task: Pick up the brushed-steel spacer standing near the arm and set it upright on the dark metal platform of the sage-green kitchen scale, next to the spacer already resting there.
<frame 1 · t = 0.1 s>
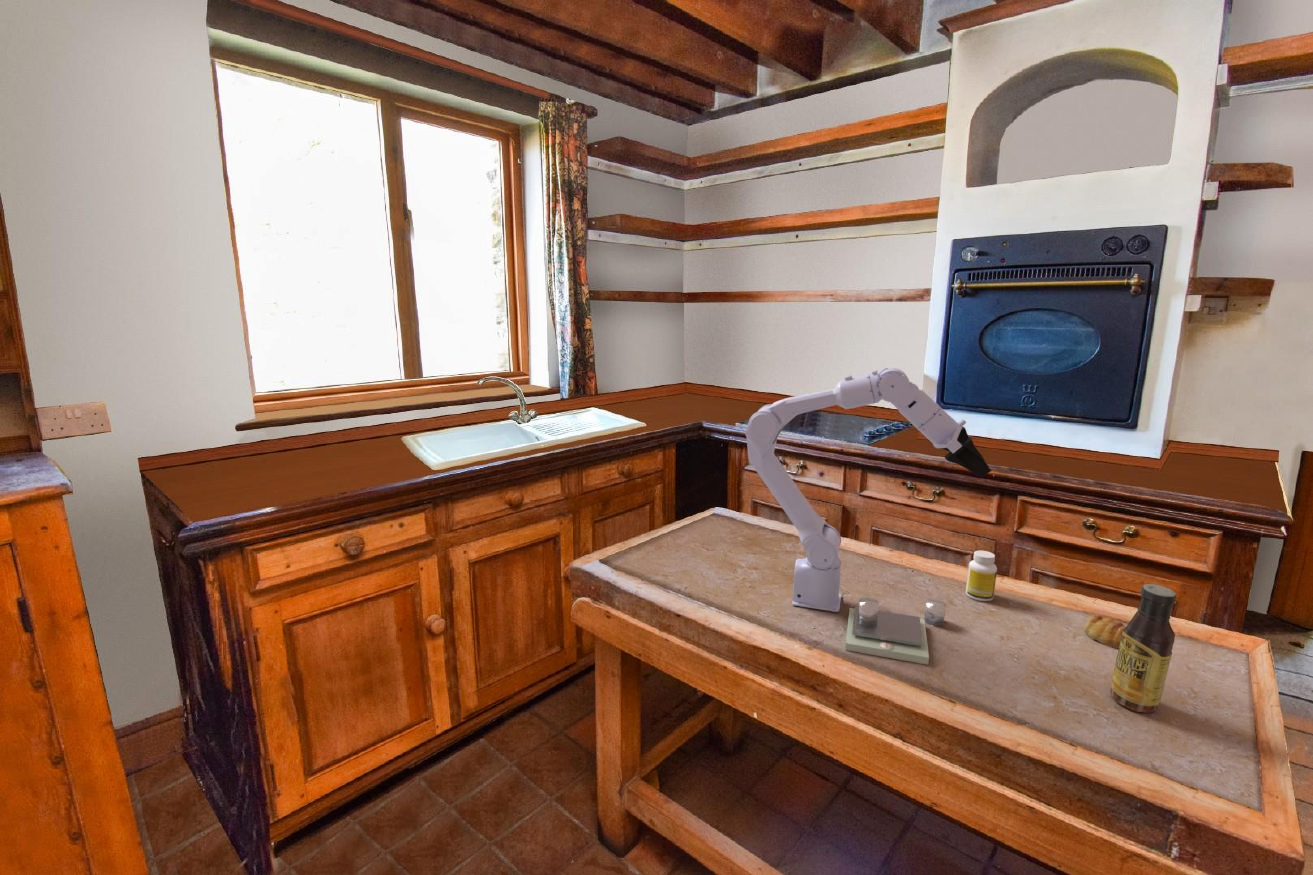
hand: (983, 468, 114), 32 cm above the table, tool tilted 50°, fingers open, 7 cm apart
scale: (885, 637, 116), on the table
spacer A: (933, 621, 122), on the table
spacer B: (867, 620, 118), point 3 cm above the table, touching scale platform
scale platform: (886, 627, 117), point 2 cm above the table, slide at -0.5 cm, touching spacer B
supplement bottle: (979, 597, 133), on the table
sauce bottle: (1134, 704, 97), on the table
pastry: (1111, 641, 116), on the table
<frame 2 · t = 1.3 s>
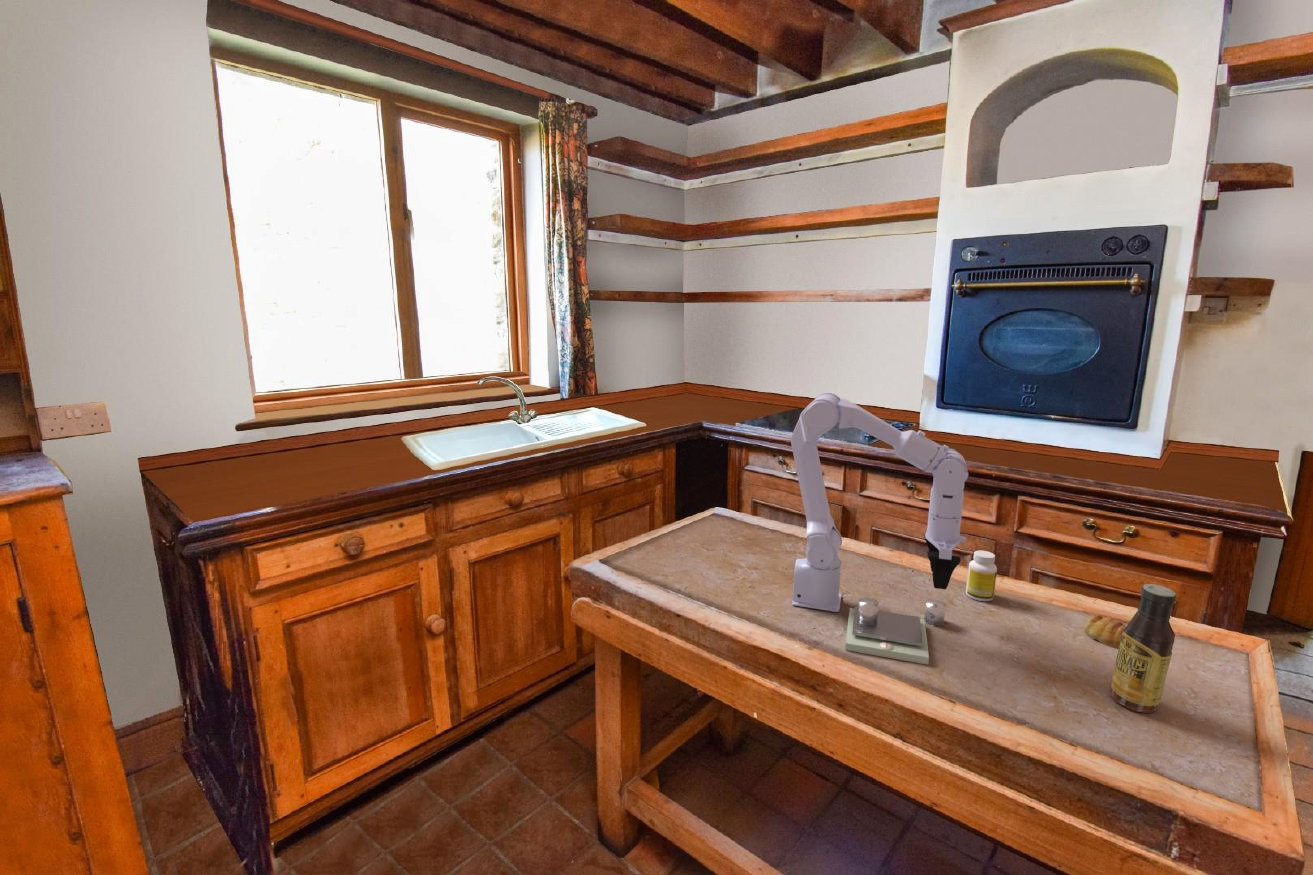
hand: (938, 579, 120), 9 cm above the table, tool pointing down, fingers open, 7 cm apart
nothing on the table moved.
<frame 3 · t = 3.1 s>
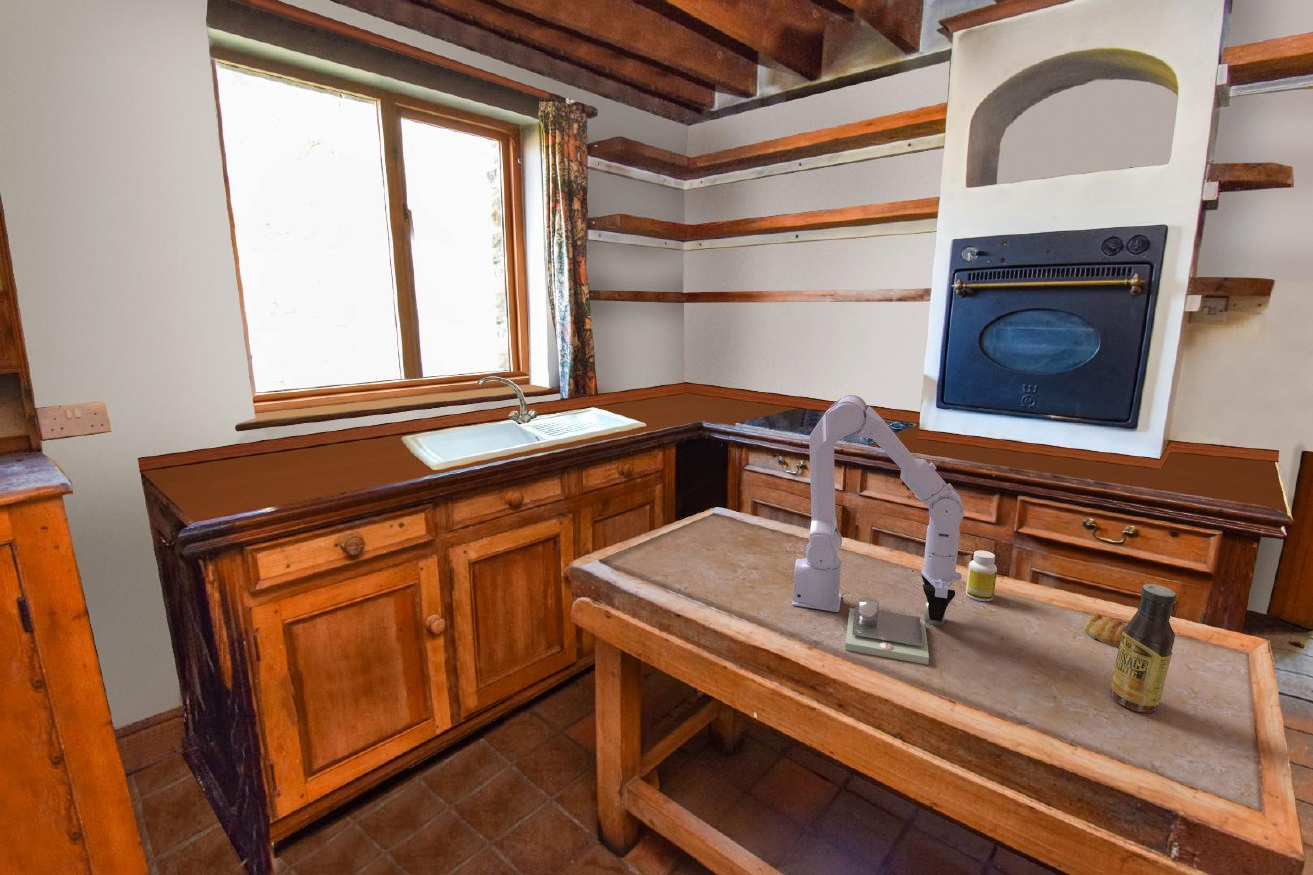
hand: (934, 615, 122), 1 cm above the table, tool pointing down, fingers closed on spacer A, 4 cm apart
spacer A: (933, 621, 122), on the table, touching gripper
everything else where it was.
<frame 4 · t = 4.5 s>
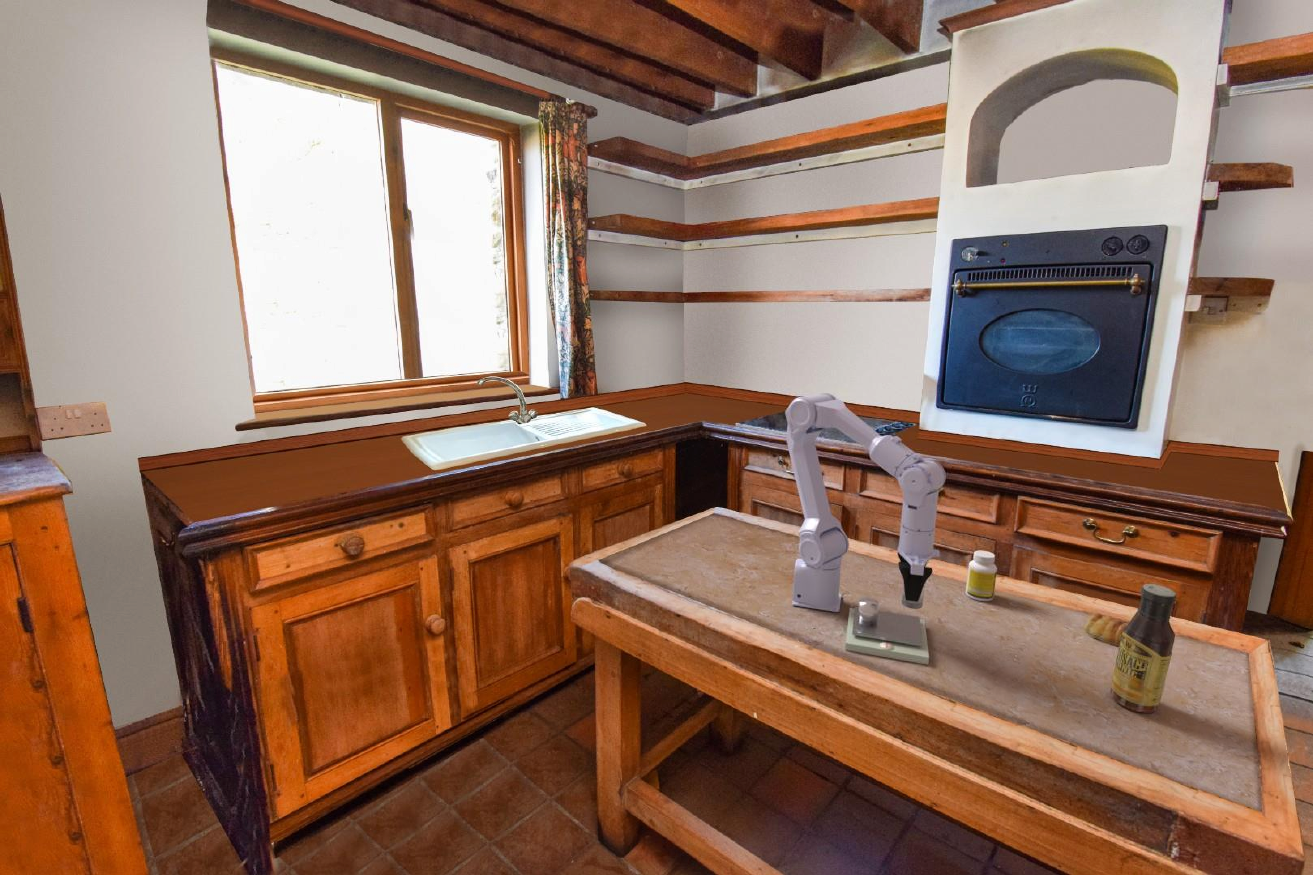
hand: (911, 595, 114), 9 cm above the table, tool pointing down, fingers closed on spacer A, 4 cm apart
spacer A: (912, 604, 115), point 7 cm above the table, touching gripper
everything else where it was.
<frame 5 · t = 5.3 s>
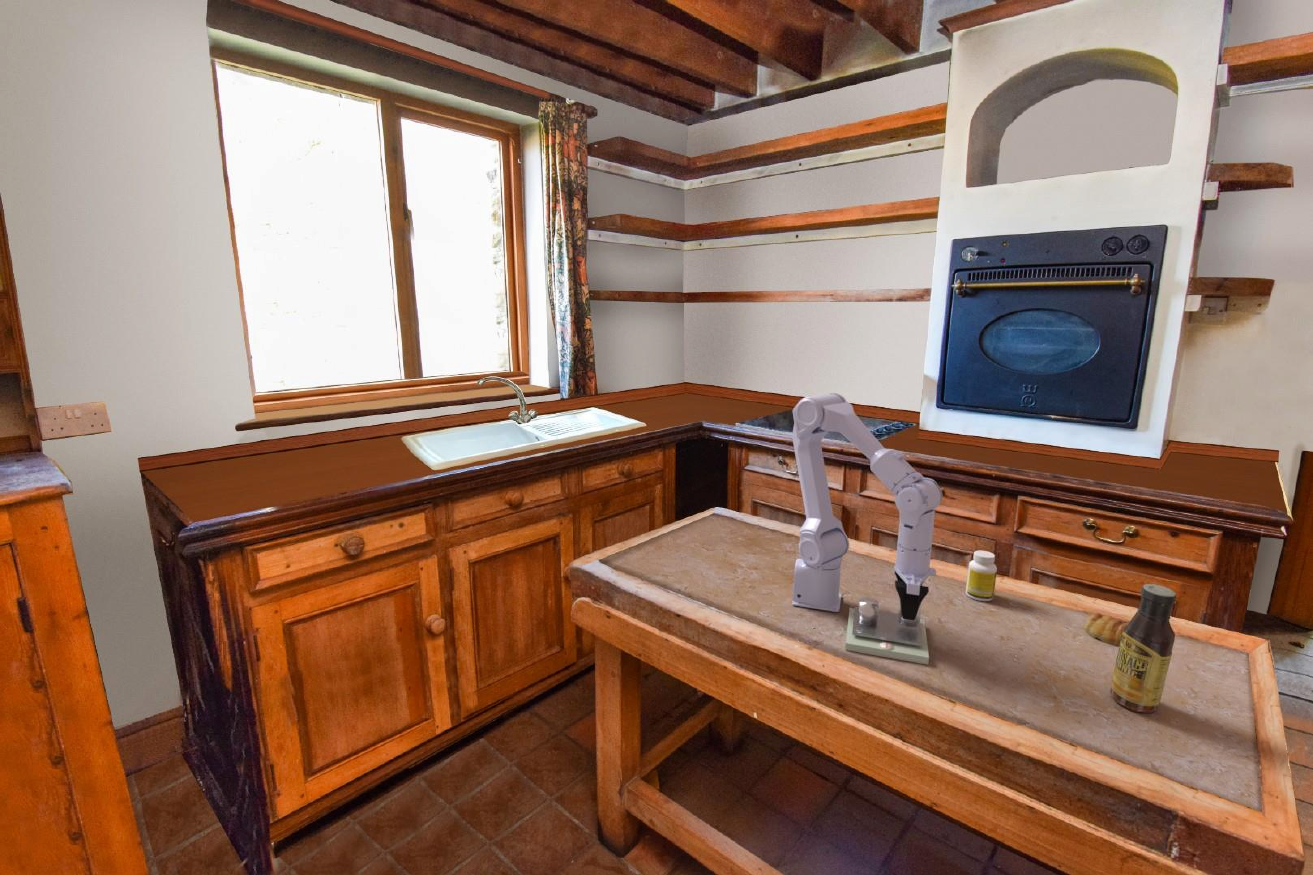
hand: (907, 613, 115), 5 cm above the table, tool pointing down, fingers closed on spacer A, 4 cm apart
spacer A: (908, 622, 115), point 4 cm above the table, touching gripper
when the fingers open (5 cm above the table, at t = 6.0 s): spacer A drops 1 cm, resting on scale platform.
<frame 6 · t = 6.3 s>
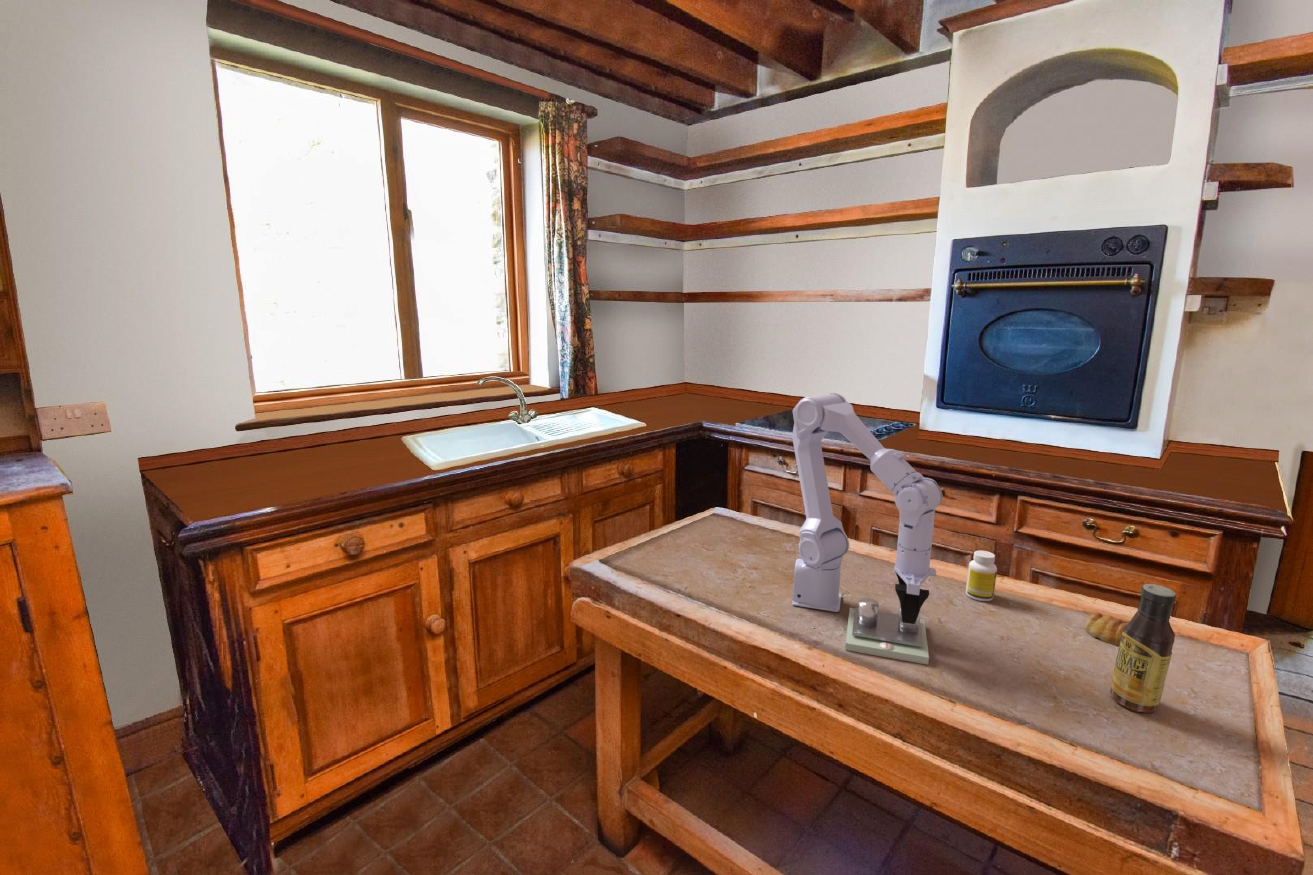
hand: (907, 613, 115), 5 cm above the table, tool pointing down, fingers open, 6 cm apart
spacer A: (908, 628, 115), point 2 cm above the table, touching scale platform
scale platform: (886, 628, 117), point 2 cm above the table, slide at -0.6 cm, touching spacer A, spacer B
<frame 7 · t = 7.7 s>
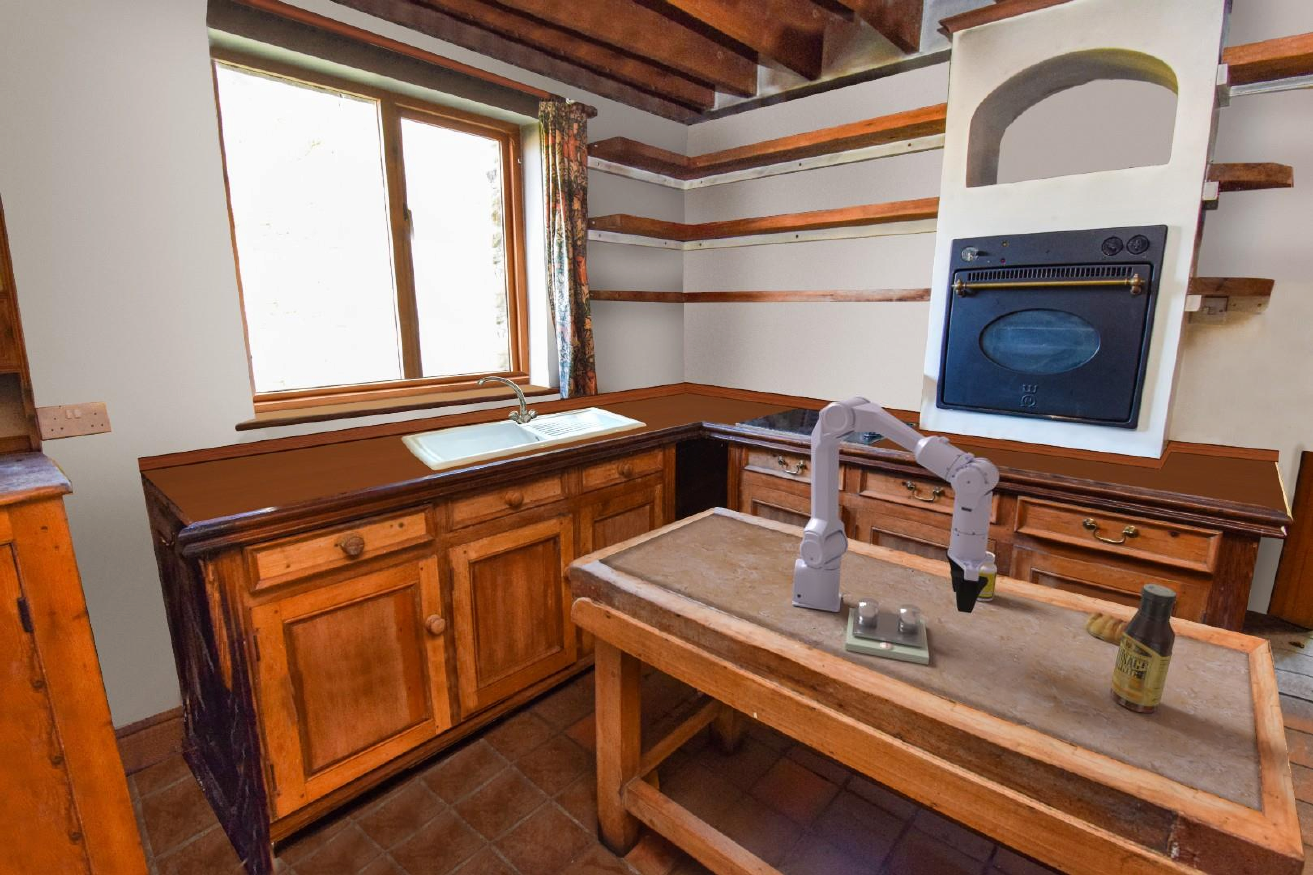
hand: (961, 601, 109), 10 cm above the table, tool pointing down, fingers open, 7 cm apart
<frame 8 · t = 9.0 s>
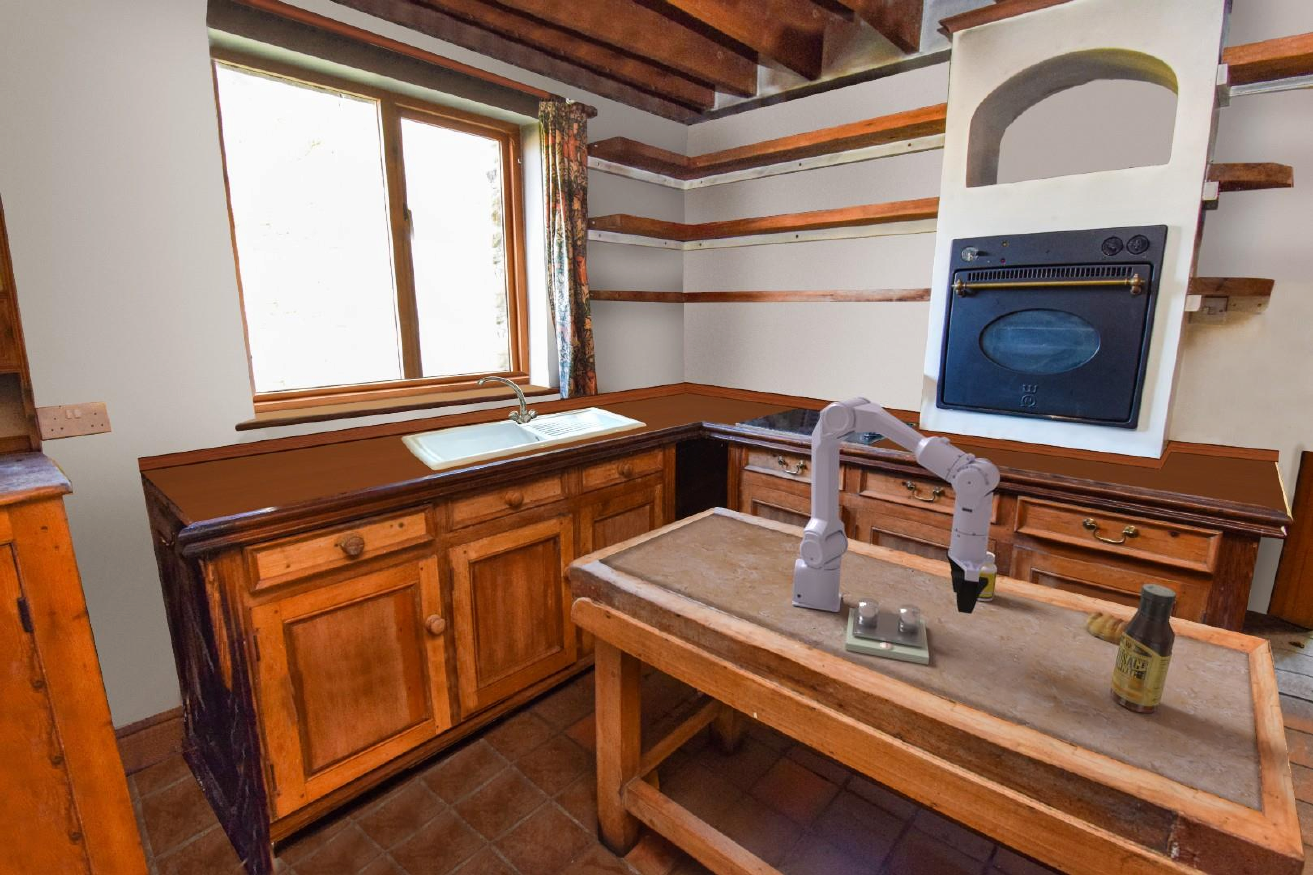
hand: (962, 601, 109), 10 cm above the table, tool pointing down, fingers open, 7 cm apart
at the end: spacer A inside the target area on the scale (0.0 cm from its centre), point 2.4 cm above the scale's base; spacer A tilted 0°; spacer B inside the target area on the scale (0.2 cm from its centre), point 2.4 cm above the scale's base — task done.
